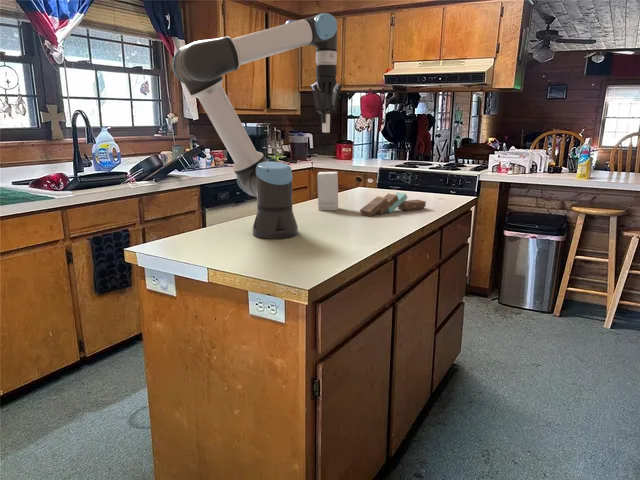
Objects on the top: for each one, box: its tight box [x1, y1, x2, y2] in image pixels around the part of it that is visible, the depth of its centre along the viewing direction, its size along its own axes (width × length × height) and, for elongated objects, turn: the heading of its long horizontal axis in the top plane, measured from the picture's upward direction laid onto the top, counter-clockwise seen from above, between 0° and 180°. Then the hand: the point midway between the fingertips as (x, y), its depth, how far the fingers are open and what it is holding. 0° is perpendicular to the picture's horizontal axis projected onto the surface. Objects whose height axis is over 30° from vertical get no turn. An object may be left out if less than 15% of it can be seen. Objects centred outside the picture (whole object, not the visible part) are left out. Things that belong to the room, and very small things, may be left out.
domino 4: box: [397, 207, 425, 212], centre depth 203 cm, size 2×5×11 cm
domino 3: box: [397, 199, 427, 209], centre depth 200 cm, size 2×5×11 cm
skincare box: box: [316, 171, 339, 211], centre depth 200 cm, size 8×7×16 cm
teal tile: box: [384, 192, 408, 214], centre depth 198 cm, size 2×5×11 cm
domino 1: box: [359, 196, 388, 217], centre depth 191 cm, size 2×5×11 cm
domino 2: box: [375, 193, 398, 215], centre depth 195 cm, size 2×5×11 cm
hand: (325, 132), depth 177 cm, fingers closed
